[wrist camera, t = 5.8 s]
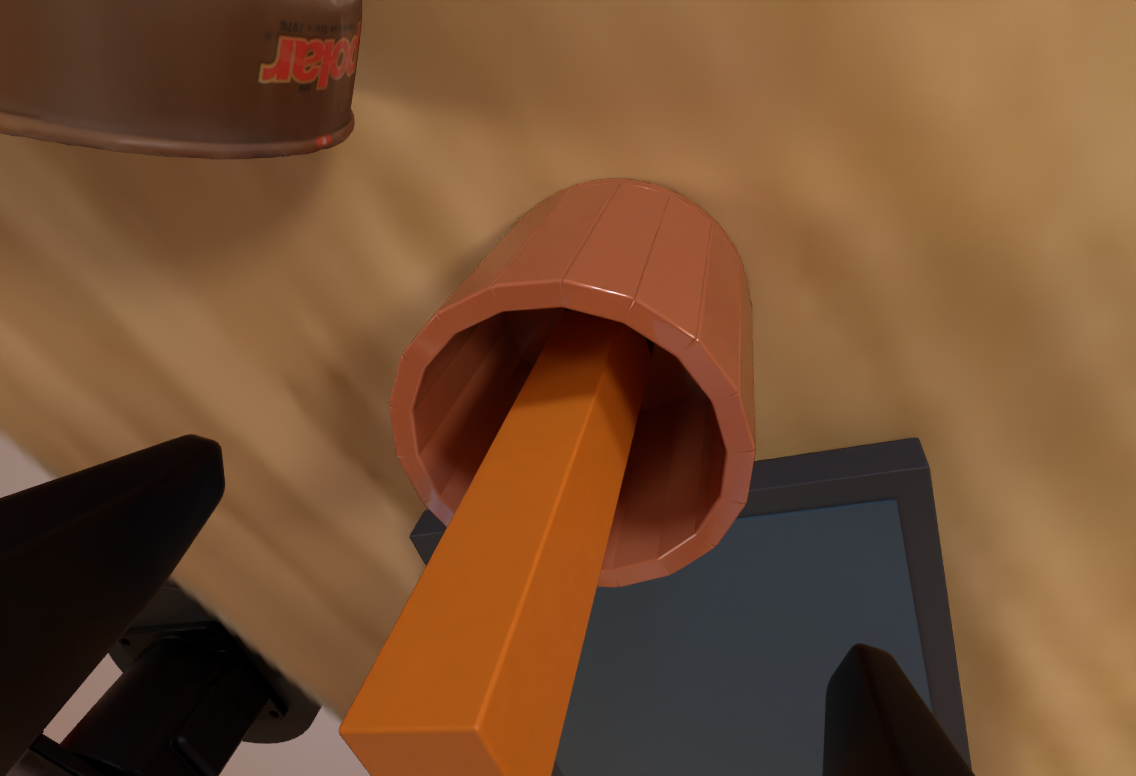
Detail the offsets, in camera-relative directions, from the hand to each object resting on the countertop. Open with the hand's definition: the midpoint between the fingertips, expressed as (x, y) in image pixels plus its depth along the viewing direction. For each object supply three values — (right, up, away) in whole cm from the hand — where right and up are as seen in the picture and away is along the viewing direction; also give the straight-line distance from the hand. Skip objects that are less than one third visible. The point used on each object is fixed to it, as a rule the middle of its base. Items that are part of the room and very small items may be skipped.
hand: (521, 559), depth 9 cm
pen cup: (+2, +4, +7) cm, 8 cm away
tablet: (+6, -9, +14) cm, 18 cm away
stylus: (+2, +4, +7) cm, 8 cm away
